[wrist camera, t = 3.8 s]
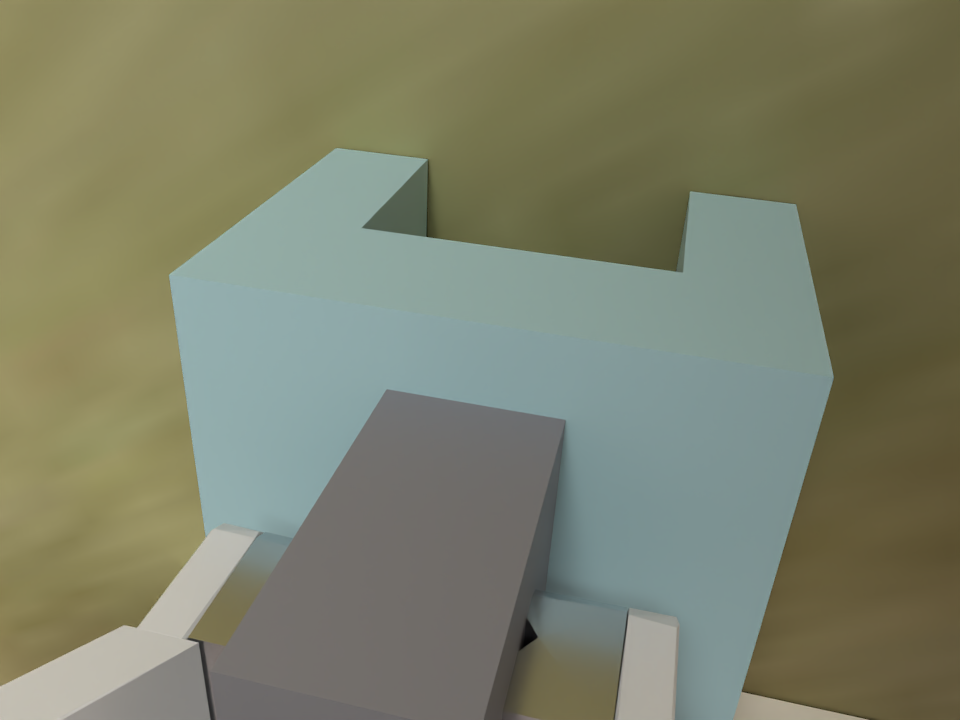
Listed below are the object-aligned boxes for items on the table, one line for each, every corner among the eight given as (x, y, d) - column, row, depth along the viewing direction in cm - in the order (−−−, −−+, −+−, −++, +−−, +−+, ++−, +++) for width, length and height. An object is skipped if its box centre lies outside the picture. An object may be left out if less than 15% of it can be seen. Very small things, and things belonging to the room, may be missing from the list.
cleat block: (336, 148, 14) (-127, 498, 6) (796, 204, 13) (908, 722, 5) (346, 455, 17) (42, 943, 9) (718, 525, 16) (717, 1152, 8)
